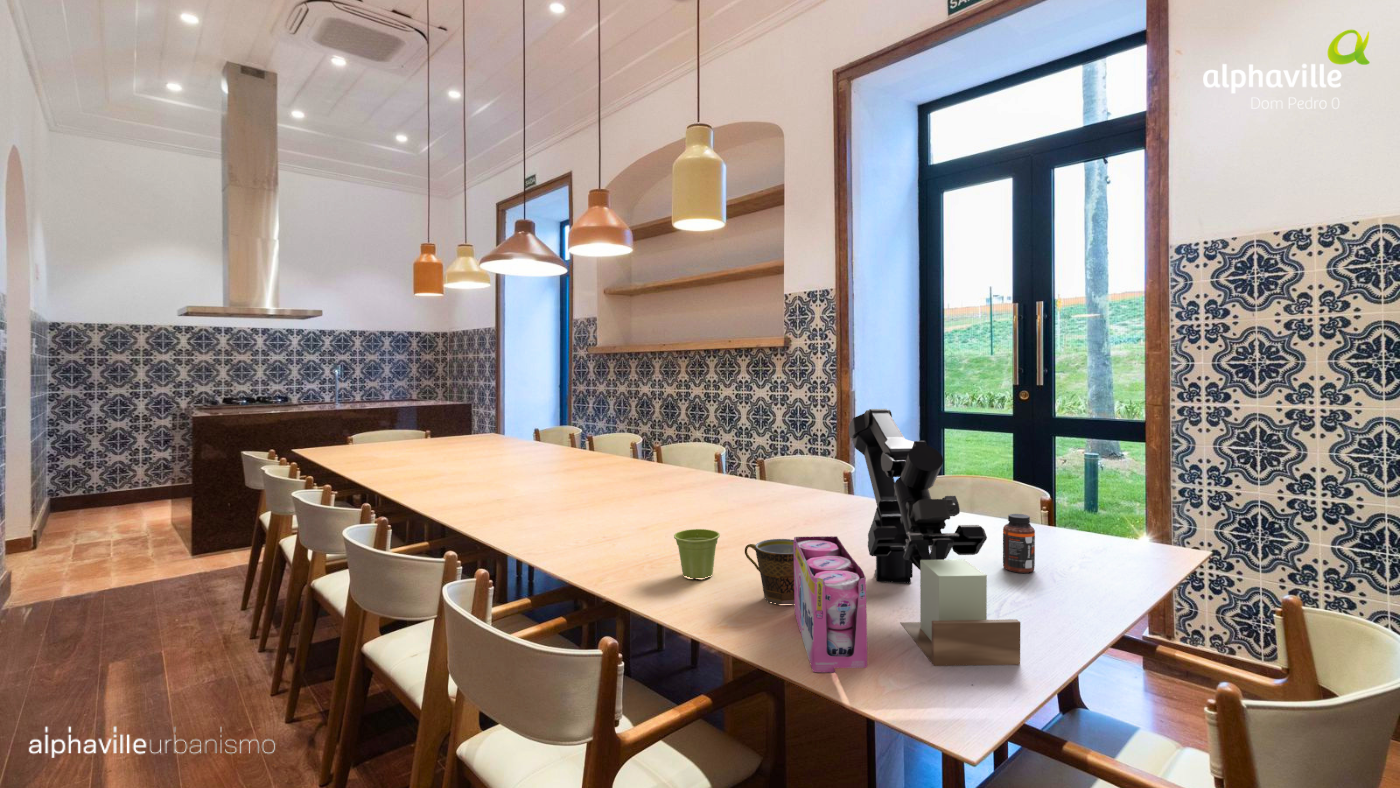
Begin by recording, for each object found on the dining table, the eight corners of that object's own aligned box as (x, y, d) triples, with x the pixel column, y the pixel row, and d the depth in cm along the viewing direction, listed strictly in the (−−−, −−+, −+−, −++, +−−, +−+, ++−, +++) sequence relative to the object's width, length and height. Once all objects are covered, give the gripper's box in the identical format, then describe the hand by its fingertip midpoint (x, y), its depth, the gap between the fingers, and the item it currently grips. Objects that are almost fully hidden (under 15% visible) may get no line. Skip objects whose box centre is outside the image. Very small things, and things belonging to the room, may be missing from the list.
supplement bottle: (1038, 574, 131) (1039, 519, 131) (1007, 573, 132) (1007, 518, 132) (1029, 565, 137) (1030, 512, 137) (999, 564, 138) (999, 511, 138)
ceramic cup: (819, 596, 121) (819, 543, 120) (795, 613, 112) (795, 556, 112) (758, 584, 128) (757, 534, 128) (731, 599, 120) (731, 546, 119)
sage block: (920, 628, 104) (920, 559, 103) (964, 627, 104) (964, 559, 103) (938, 649, 96) (938, 576, 95) (986, 649, 96) (986, 575, 95)
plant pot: (692, 587, 127) (691, 543, 127) (665, 575, 135) (665, 533, 134) (729, 577, 133) (729, 535, 132) (702, 566, 140) (701, 526, 140)
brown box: (900, 627, 106) (900, 586, 106) (973, 626, 106) (973, 585, 106) (934, 671, 91) (934, 623, 90) (1020, 670, 91) (1020, 622, 90)
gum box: (871, 678, 89) (871, 580, 88) (813, 678, 89) (812, 581, 89) (838, 612, 113) (838, 535, 112) (793, 613, 113) (792, 535, 113)
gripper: (871, 479, 110) (891, 563, 99) (982, 477, 110) (1013, 561, 99) (860, 515, 118) (877, 596, 107) (963, 513, 118) (990, 594, 107)
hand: (938, 587), depth 105 cm, fingers closed
